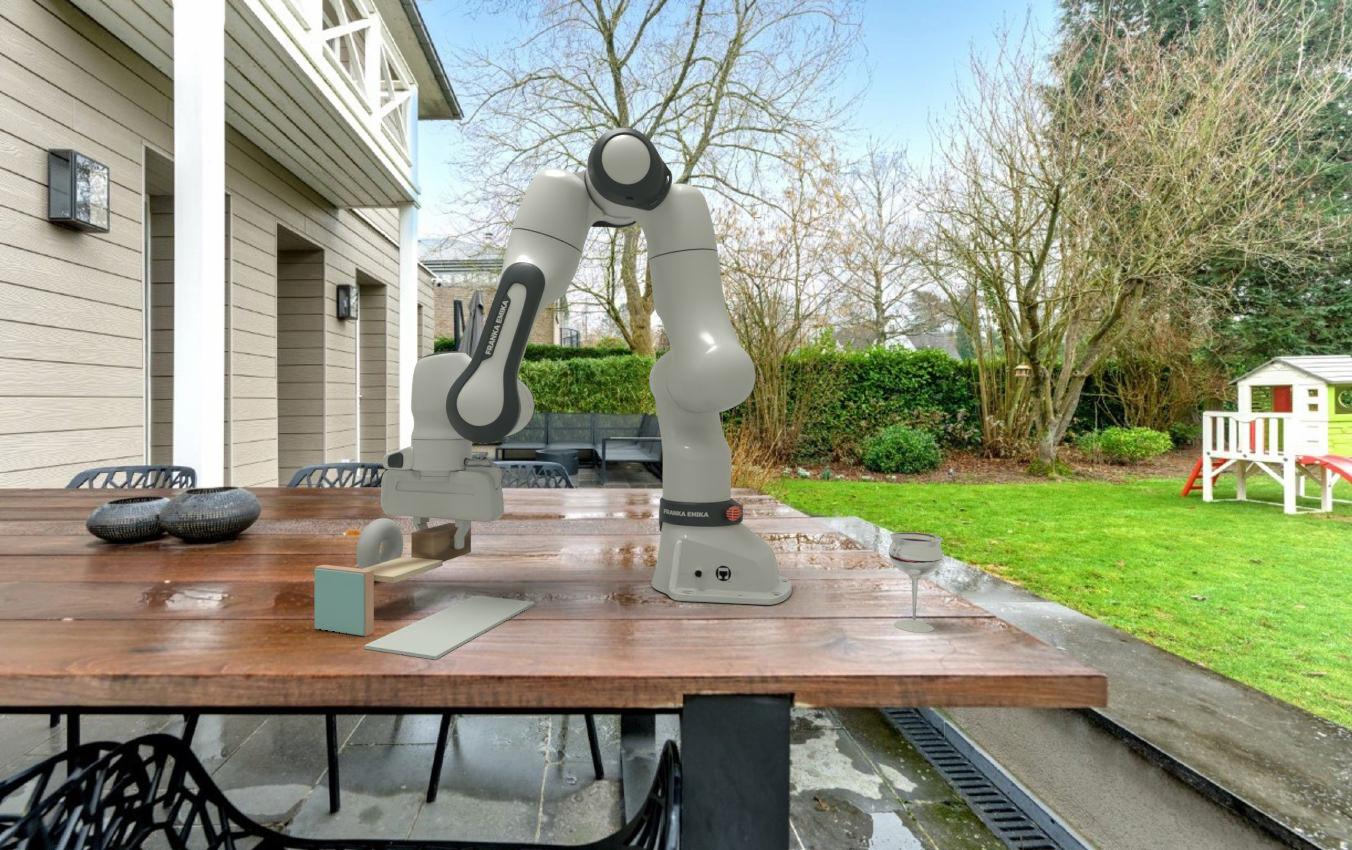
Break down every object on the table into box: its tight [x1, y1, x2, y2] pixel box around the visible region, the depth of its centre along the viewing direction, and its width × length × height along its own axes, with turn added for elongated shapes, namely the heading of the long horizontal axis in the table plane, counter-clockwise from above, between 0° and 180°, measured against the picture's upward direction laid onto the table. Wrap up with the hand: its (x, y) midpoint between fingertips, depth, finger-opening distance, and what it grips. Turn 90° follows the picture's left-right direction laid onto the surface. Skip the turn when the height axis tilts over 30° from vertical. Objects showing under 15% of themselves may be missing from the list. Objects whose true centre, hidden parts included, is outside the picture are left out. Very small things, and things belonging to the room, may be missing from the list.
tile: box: [313, 564, 375, 637], centre depth 83 cm, size 8×2×8 cm, turn 72°
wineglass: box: [888, 531, 944, 633], centre depth 88 cm, size 7×7×12 cm
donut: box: [355, 517, 404, 569], centre depth 108 cm, size 10×4×10 cm, turn 170°
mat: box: [363, 595, 536, 661], centre depth 86 cm, size 10×22×1 cm, turn 162°
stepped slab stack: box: [364, 522, 472, 584], centre depth 97 cm, size 7×19×4 cm, turn 162°
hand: (441, 547), depth 101 cm, fingers closed on stepped slab stack, 4 cm apart
